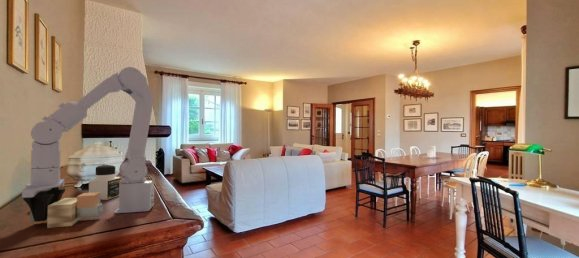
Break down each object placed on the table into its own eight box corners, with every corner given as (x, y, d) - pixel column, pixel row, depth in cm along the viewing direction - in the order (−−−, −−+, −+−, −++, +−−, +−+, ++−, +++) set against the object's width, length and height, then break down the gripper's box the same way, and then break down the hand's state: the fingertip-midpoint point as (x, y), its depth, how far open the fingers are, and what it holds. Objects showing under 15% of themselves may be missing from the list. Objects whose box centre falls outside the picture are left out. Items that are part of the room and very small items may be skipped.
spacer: (100, 202, 74) (100, 192, 74) (94, 206, 70) (94, 195, 70) (83, 203, 73) (83, 193, 73) (76, 207, 69) (76, 196, 69)
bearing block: (85, 216, 74) (85, 196, 74) (71, 225, 67) (71, 204, 67) (64, 218, 73) (64, 198, 73) (47, 227, 65) (47, 205, 65)
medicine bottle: (107, 200, 93) (108, 166, 93) (88, 199, 93) (88, 166, 93) (120, 195, 100) (121, 164, 100) (102, 195, 100) (103, 164, 100)
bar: (102, 213, 74) (102, 202, 74) (97, 217, 70) (97, 205, 71) (37, 218, 69) (38, 206, 69) (29, 222, 66) (30, 209, 66)
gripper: (44, 164, 74) (42, 211, 74) (6, 171, 60) (4, 230, 60) (73, 163, 76) (72, 209, 76) (43, 170, 63) (42, 226, 62)
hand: (44, 218), depth 68 cm, fingers closed on bar, 3 cm apart
